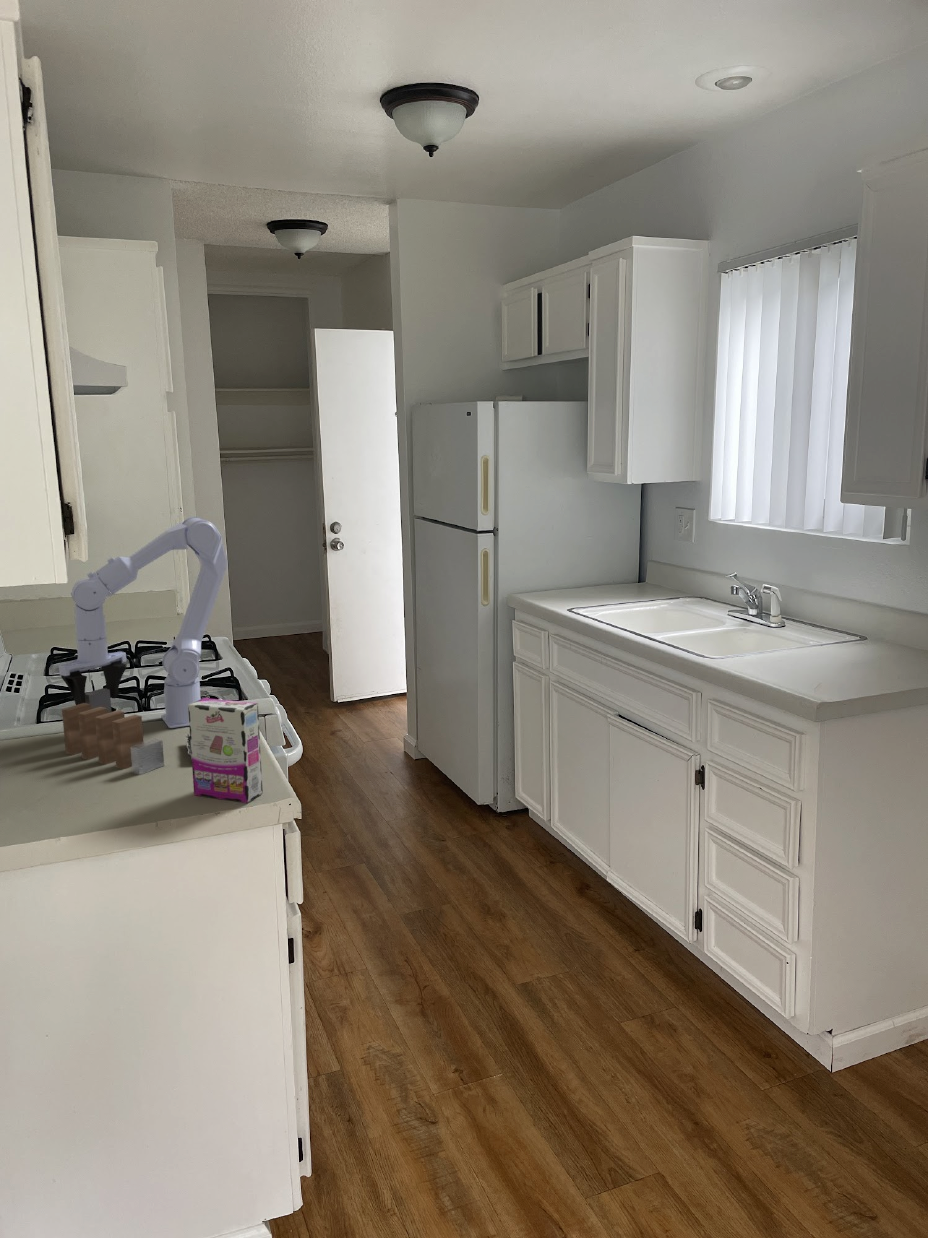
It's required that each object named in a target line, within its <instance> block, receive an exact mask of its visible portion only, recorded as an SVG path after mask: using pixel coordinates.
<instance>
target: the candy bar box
mask: <svg viewBox="0 0 928 1238" xmlns="http://www.w3.org/2000/svg"><path fill="white" fill-rule="evenodd" d="M188 712H189V736H190V741H191V755H190V757H191V756H192V760H191V767H192V784H193V794H194V796H196V795H198V796H199V797H203V798H209V797H210V799H216V798H218V799H217V800H223V801H232V802H238V803H239V802H240V803H246V804H247V803H250V802H252V801H253V800H255V799H256V798H258V797H260V796H261V795H262V794H263V791H264V790H263V773H262V760H261V759H262V757H261V737H260V721H259V720H260V718H259V717H260V716H259V703H258V702H250V701H249V702H247V701H241V700H240V701H239V700H229V699H217V698H206V697H204V698H201V700H198V701H196V702H194V703H192V704H189V705H188ZM198 796H197V797H198Z"/></svg>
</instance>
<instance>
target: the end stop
mask: <svg viewBox="0 0 928 1238" xmlns="http://www.w3.org/2000/svg"><path fill="white" fill-rule="evenodd" d="M163 742H164V741H163V740H162V739H160V738H153V739H150V740H147V741H144V742H143V743H140V744H138V745H135V746H132V747H131V760H132V767H131V770H132V771H131V773H132V774H135V775H138V776H140V775H144V774H146V773H149V772H151V771H154V770H156V769H159V768H161V767H165V758H164V756H165V755H164V745H163Z"/></svg>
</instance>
